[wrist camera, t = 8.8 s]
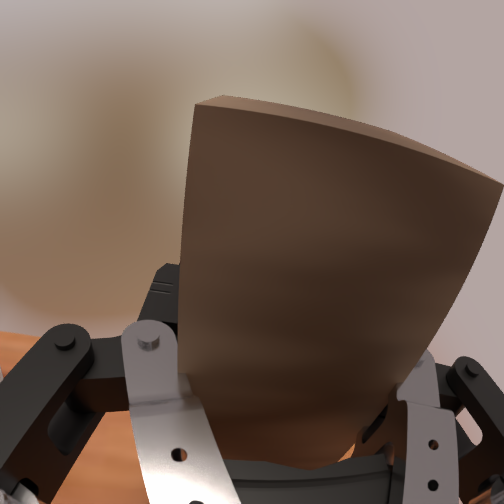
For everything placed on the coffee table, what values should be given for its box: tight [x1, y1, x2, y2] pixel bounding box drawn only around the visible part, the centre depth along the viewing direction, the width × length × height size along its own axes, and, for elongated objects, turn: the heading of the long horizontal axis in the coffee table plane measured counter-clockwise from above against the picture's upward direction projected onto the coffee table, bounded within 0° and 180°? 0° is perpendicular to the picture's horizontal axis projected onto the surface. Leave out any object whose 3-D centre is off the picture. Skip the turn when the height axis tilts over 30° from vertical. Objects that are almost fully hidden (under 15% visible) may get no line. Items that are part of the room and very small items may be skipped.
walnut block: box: [177, 95, 504, 470], centre depth 9 cm, size 5×5×13 cm
